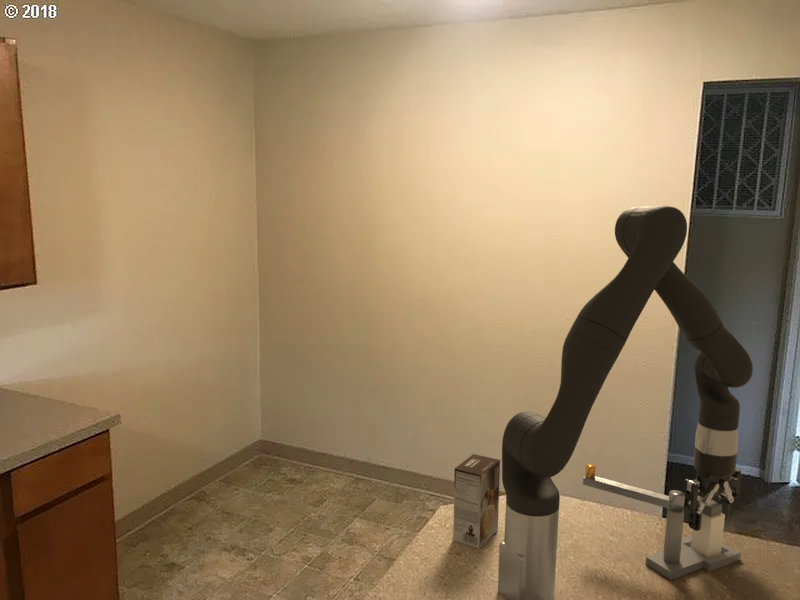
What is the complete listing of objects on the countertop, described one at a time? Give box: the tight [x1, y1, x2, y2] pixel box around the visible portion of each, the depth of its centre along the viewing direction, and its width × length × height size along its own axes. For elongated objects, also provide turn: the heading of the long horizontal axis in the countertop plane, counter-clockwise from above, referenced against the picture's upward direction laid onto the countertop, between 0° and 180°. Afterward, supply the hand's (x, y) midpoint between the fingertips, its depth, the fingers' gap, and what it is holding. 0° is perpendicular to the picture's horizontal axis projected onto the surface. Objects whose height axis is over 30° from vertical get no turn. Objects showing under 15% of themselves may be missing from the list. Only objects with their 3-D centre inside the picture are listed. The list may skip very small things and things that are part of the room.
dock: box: [645, 508, 742, 580], centre depth 133 cm, size 18×9×12 cm, turn 118°
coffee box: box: [452, 453, 501, 550], centre depth 141 cm, size 9×6×16 cm
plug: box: [691, 499, 725, 558], centre depth 135 cm, size 4×4×11 cm
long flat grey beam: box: [582, 463, 685, 512], centre depth 134 cm, size 19×3×4 cm, turn 54°
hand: (708, 523), depth 135 cm, fingers open, 8 cm apart
